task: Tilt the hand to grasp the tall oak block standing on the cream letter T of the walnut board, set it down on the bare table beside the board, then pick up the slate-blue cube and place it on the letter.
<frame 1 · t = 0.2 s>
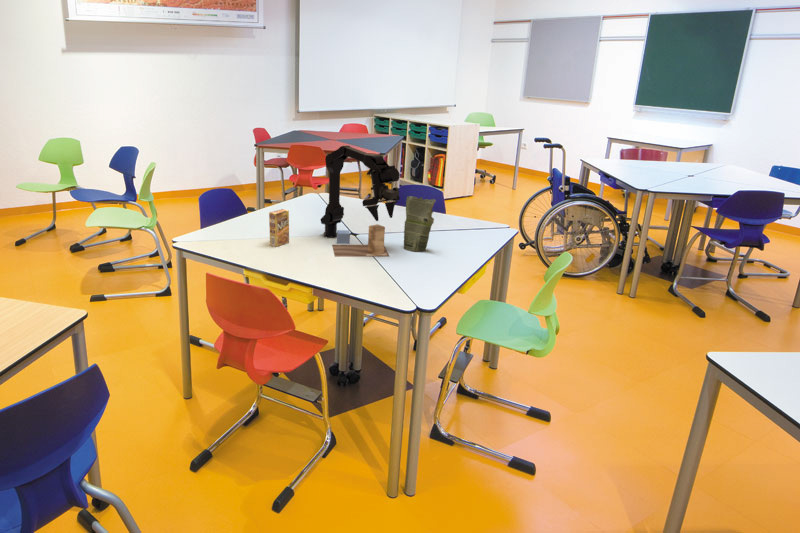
hand: (384, 219, 247), 15 cm above the table, tool tilted 15°, fingers open, 9 cm apart
pouch: (416, 250, 259), on the table
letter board: (360, 251, 251), on the table
candy box: (279, 244, 255), on the table
slate cube: (343, 243, 262), on the table
oak block: (375, 252, 249), point 1 cm above the table, touching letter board
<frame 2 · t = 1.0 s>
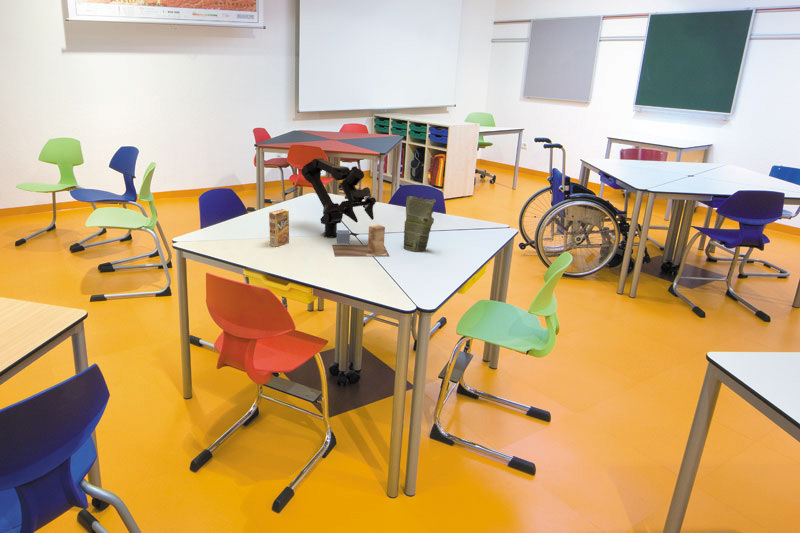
hand: (365, 220, 251), 13 cm above the table, tool tilted 45°, fingers open, 9 cm apart
nothing on the table moved.
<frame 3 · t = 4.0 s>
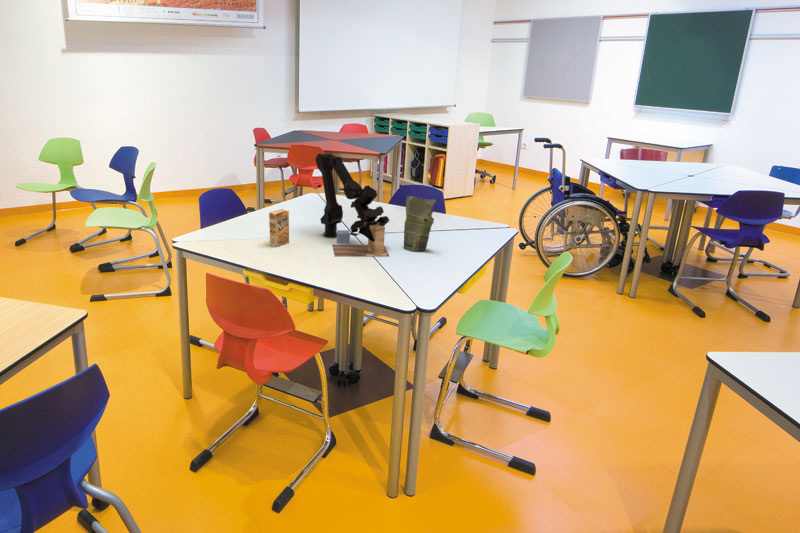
hand: (378, 240, 246), 7 cm above the table, tool tilted 45°, fingers closed on oak block, 5 cm apart
oak block: (375, 252, 249), point 1 cm above the table, touching gripper, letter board
everything else where it was.
when the fingers open (7 cm above the table, at t = 9.8 s): oak block drops 1 cm, on the table.
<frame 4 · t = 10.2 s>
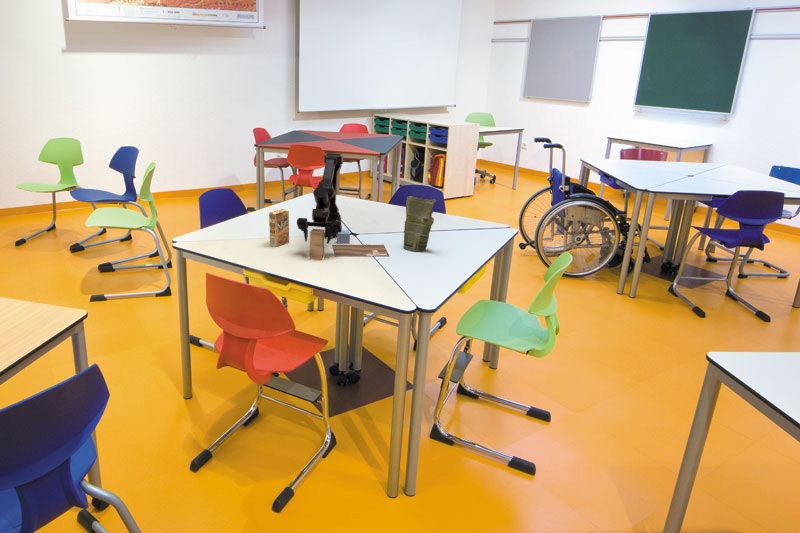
hand: (316, 242, 236), 7 cm above the table, tool tilted 45°, fingers open, 9 cm apart
oak block: (317, 257, 240), on the table
everything else where it was.
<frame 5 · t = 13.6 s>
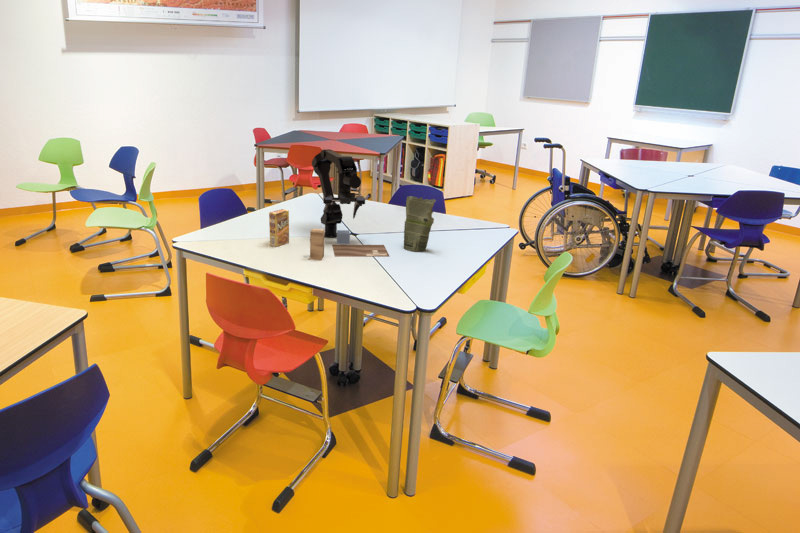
hand: (343, 218, 258), 12 cm above the table, tool pointing down, fingers open, 9 cm apart
nothing on the table moved.
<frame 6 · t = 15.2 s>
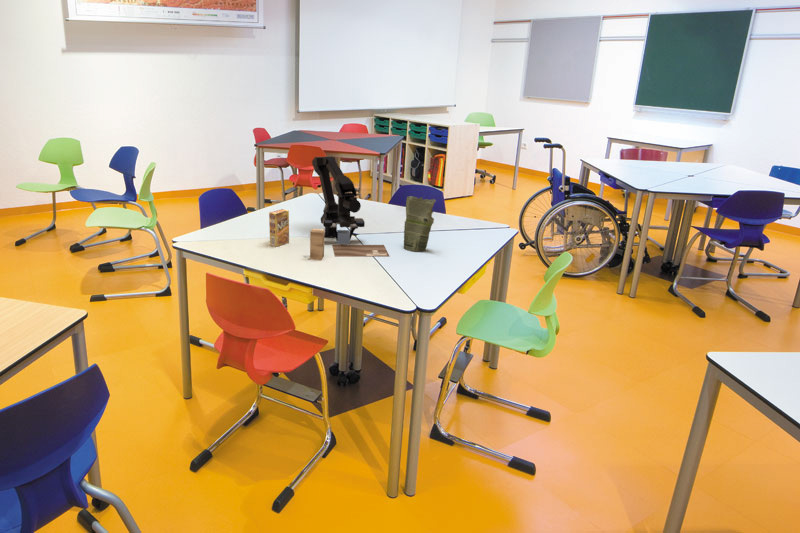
hand: (343, 240, 261), 1 cm above the table, tool pointing down, fingers closed on slate cube, 5 cm apart
slate cube: (343, 243, 262), on the table, touching gripper
everything else where it was.
when the fingers open (3 cm above the table, at t = 20.3 s): slate cube drops 1 cm, resting on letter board.
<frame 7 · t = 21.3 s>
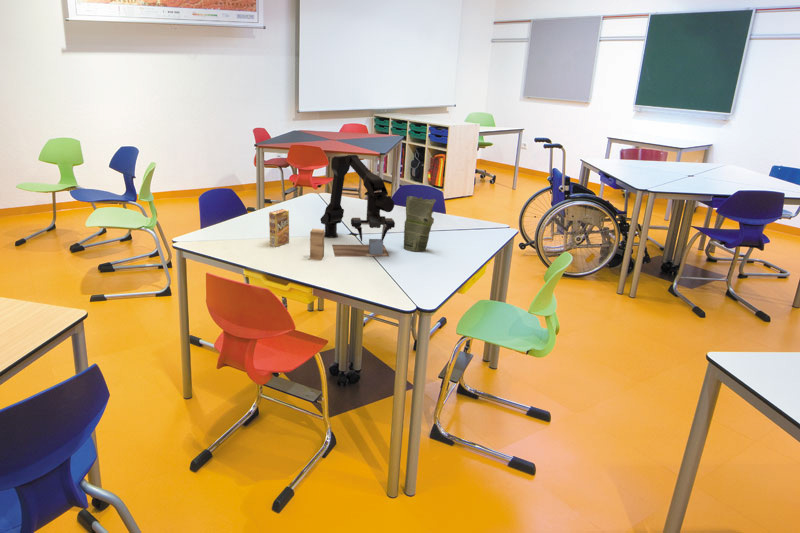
hand: (371, 241, 249), 5 cm above the table, tool pointing down, fingers open, 9 cm apart
slate cube: (375, 252, 249), point 1 cm above the table, touching gripper, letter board
everything else where it was.
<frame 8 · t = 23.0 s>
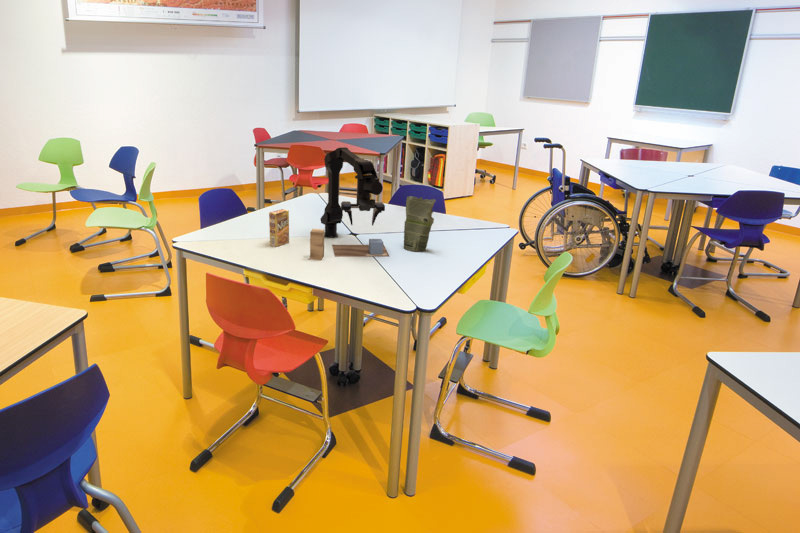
hand: (362, 225, 248), 12 cm above the table, tool pointing down, fingers open, 9 cm apart
slate cube: (375, 252, 249), point 1 cm above the table, touching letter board
everything else where it was.
at the end: slate cube 0.4 cm from the target spot, point 0.6 cm above the table; oak block inside the target area (0.0 cm from its centre), on the table; oak block tilted 0° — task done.
